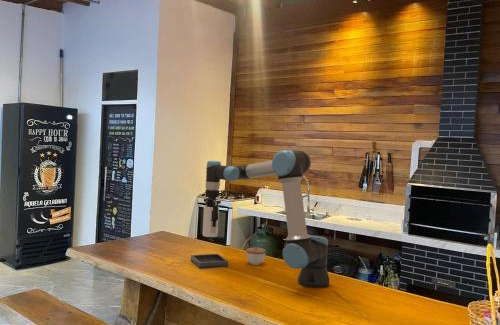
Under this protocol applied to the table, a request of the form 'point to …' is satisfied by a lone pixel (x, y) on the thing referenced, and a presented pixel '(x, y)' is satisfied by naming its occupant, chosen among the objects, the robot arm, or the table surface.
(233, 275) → the table surface
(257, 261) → the lidded jar
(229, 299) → the table surface
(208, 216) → the cup
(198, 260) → the square metal tray
